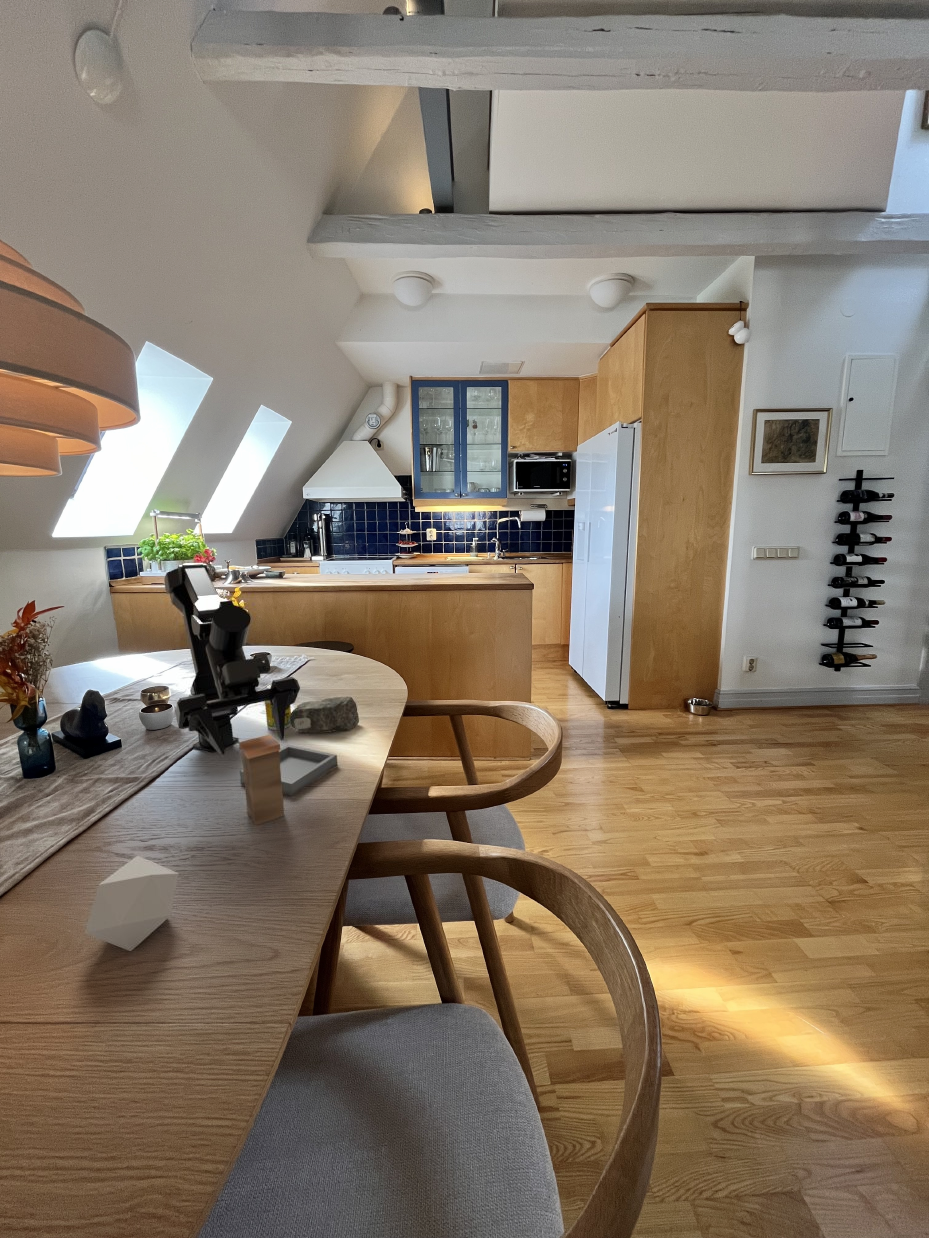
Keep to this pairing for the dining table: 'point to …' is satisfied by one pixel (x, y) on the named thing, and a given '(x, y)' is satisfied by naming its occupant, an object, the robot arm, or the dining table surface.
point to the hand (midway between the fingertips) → (254, 746)
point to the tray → (301, 767)
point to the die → (132, 903)
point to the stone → (325, 715)
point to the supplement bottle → (270, 717)
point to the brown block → (262, 778)
